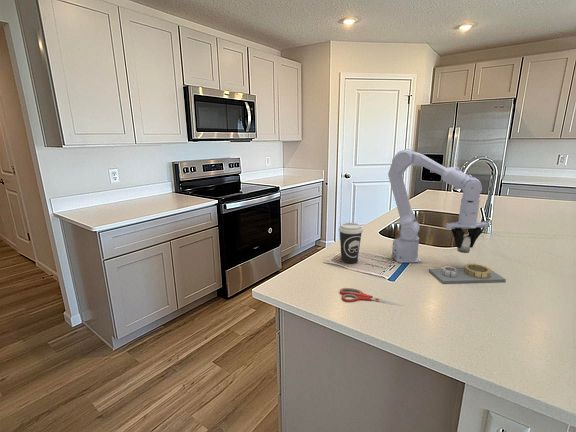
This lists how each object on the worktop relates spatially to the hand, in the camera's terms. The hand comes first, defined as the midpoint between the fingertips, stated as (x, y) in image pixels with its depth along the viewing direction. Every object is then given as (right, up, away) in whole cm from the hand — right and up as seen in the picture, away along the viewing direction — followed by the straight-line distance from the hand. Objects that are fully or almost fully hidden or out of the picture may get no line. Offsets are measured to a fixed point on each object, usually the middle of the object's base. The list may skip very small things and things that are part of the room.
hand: (463, 247), depth 116 cm
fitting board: (-2, -10, -5) cm, 11 cm away
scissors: (-39, -15, -19) cm, 46 cm away
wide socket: (+2, -10, -5) cm, 11 cm away
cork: (+13, -2, +26) cm, 29 cm away
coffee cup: (-41, -7, +11) cm, 43 cm away
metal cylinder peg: (0, -2, 0) cm, 2 cm away
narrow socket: (-8, -10, -5) cm, 14 cm away
